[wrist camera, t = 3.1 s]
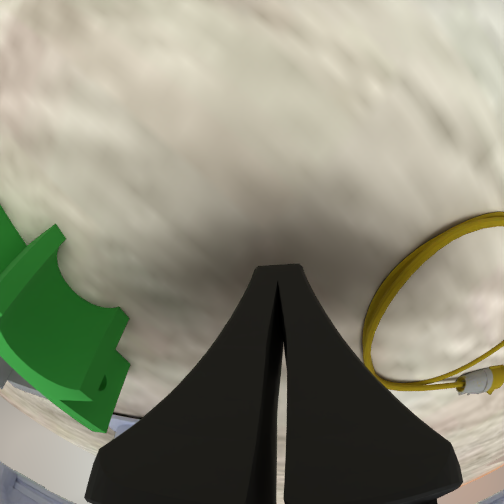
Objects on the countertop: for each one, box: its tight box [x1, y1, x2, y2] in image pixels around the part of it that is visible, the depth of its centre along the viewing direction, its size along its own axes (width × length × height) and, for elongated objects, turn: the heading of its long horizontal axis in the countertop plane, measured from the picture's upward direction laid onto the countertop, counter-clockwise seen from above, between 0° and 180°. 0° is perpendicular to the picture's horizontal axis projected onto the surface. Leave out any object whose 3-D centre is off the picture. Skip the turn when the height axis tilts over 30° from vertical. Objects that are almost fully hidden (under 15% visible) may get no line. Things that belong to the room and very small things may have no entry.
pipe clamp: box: [0, 205, 130, 433], centre depth 10 cm, size 11×4×5 cm, turn 25°
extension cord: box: [362, 212, 504, 395], centre depth 11 cm, size 12×16×2 cm
